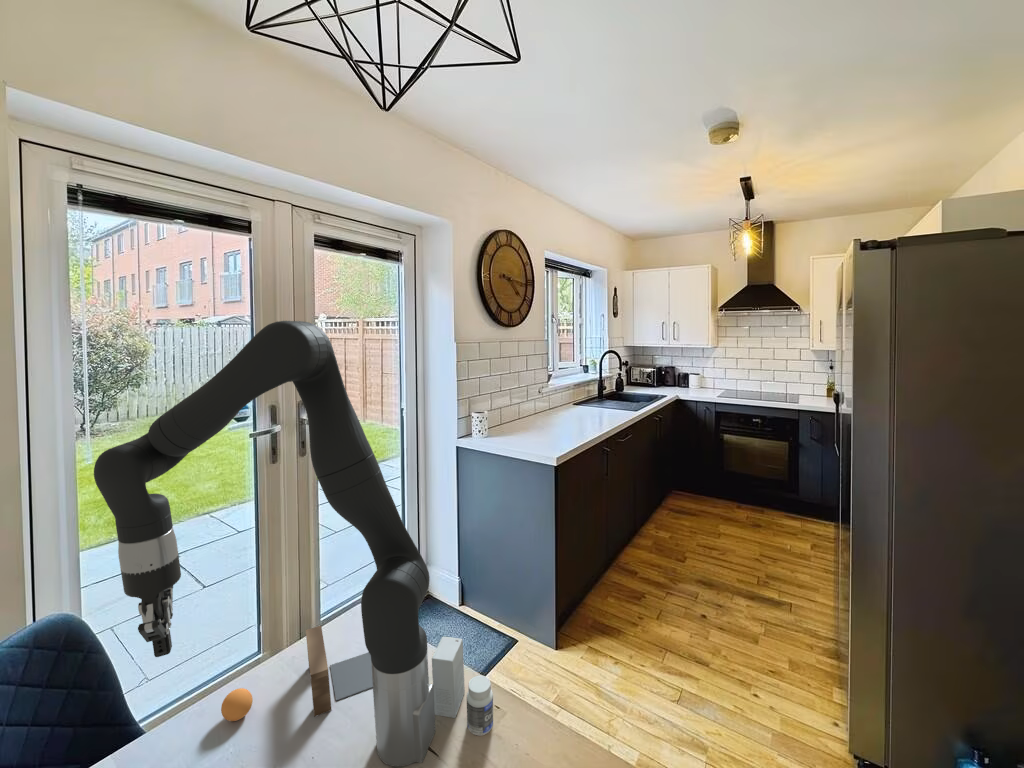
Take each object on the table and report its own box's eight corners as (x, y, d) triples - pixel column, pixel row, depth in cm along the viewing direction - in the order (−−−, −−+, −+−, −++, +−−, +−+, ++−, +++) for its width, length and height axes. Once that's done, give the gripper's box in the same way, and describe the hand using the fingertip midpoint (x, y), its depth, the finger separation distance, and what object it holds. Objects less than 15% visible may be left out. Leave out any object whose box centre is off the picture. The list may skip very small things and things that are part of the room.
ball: (260, 707, 87) (257, 684, 86) (239, 730, 82) (236, 706, 82) (237, 702, 88) (235, 679, 87) (216, 725, 83) (212, 701, 83)
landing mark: (336, 701, 88) (335, 700, 88) (330, 666, 97) (330, 665, 97) (388, 681, 93) (388, 680, 93) (378, 649, 102) (378, 649, 102)
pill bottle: (489, 738, 80) (489, 696, 79) (464, 734, 81) (462, 692, 80) (496, 715, 85) (495, 675, 84) (471, 711, 86) (470, 671, 85)
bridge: (314, 716, 85) (310, 675, 84) (309, 667, 97) (305, 630, 96) (331, 710, 86) (328, 669, 85) (324, 662, 98) (321, 625, 97)
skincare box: (444, 689, 91) (442, 635, 89) (465, 692, 90) (463, 638, 88) (433, 715, 85) (430, 658, 83) (455, 719, 84) (453, 661, 82)
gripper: (170, 572, 71) (183, 671, 74) (184, 536, 83) (195, 622, 86) (108, 586, 68) (124, 689, 71) (131, 546, 80) (145, 636, 82)
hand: (163, 652), depth 78 cm, fingers closed
